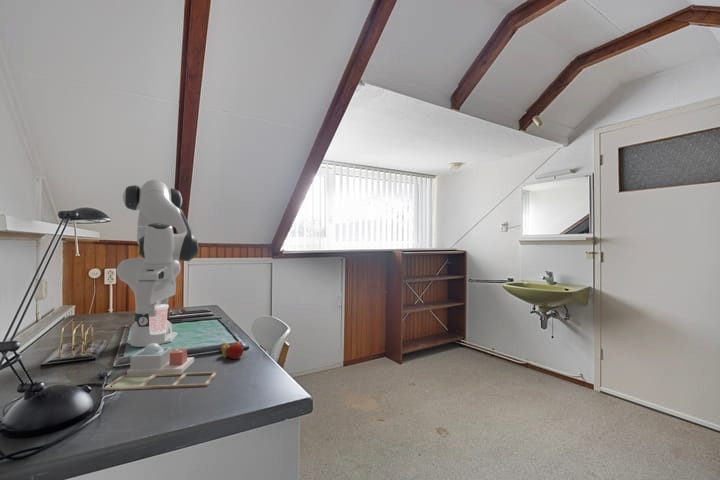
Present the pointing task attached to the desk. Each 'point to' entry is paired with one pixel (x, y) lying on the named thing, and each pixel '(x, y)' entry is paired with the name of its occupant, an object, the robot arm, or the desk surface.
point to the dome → (152, 349)
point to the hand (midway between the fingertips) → (157, 313)
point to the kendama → (232, 350)
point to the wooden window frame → (142, 379)
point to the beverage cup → (159, 320)
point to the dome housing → (160, 362)
